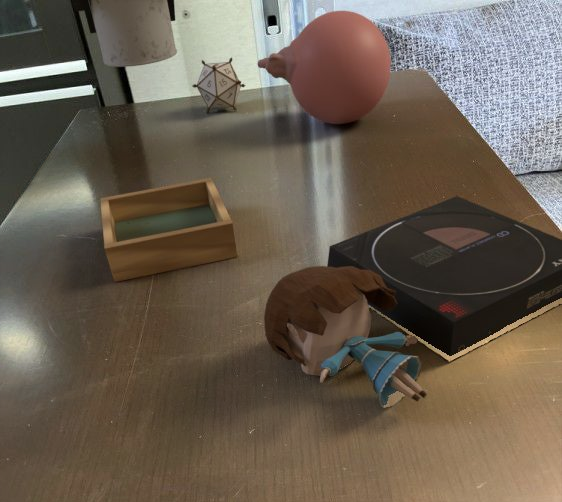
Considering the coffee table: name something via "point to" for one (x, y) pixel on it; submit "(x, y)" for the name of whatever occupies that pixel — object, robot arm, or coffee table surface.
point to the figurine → (339, 327)
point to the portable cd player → (458, 271)
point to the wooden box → (166, 229)
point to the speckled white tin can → (133, 31)
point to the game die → (219, 85)
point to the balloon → (335, 67)
